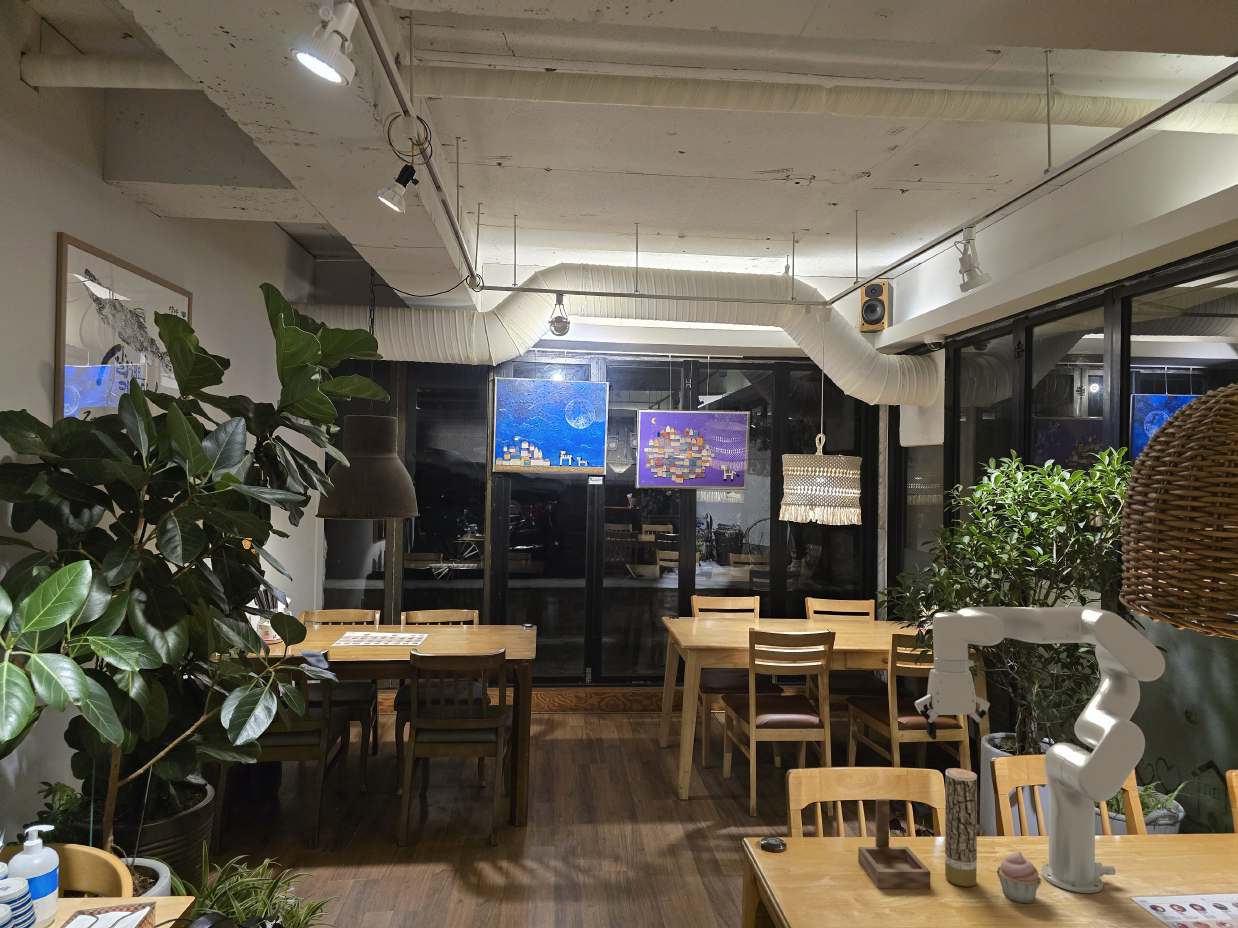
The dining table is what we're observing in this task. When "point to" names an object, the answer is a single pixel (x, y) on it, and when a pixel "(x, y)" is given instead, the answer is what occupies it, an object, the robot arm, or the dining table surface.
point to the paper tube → (961, 827)
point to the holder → (891, 858)
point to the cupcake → (1018, 878)
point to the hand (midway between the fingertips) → (952, 737)
